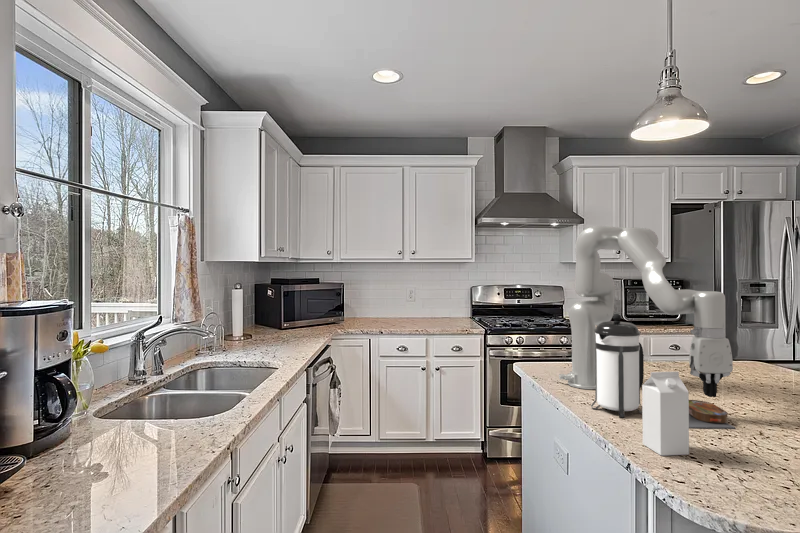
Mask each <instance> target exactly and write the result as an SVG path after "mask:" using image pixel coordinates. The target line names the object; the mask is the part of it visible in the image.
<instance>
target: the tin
mask: <svg viewBox="0 0 800 533" xmlns="http://www.w3.org/2000/svg"><path fill="white" fill-rule="evenodd" d="M689 414H690V415H691V416H693V417H694V418H695V419H697V420H700V421H703V422H709V423H728V415H729V413H728V411H726V410H724V409H723V408H721V407H720V406H718V405H716V404H714V403H711V402H709V401H704V400H698V399H689Z"/></svg>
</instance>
